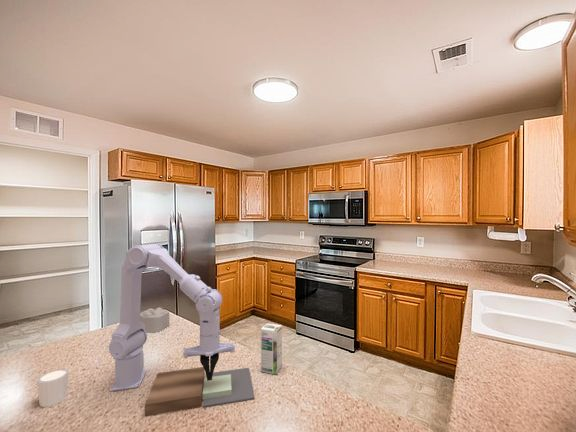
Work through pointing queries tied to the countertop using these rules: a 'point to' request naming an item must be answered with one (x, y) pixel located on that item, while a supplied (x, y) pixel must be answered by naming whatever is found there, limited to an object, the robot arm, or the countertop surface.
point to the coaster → (217, 387)
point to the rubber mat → (234, 388)
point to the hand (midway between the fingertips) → (209, 378)
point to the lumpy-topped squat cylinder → (155, 319)
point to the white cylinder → (52, 387)
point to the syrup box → (271, 348)
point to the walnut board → (175, 391)
